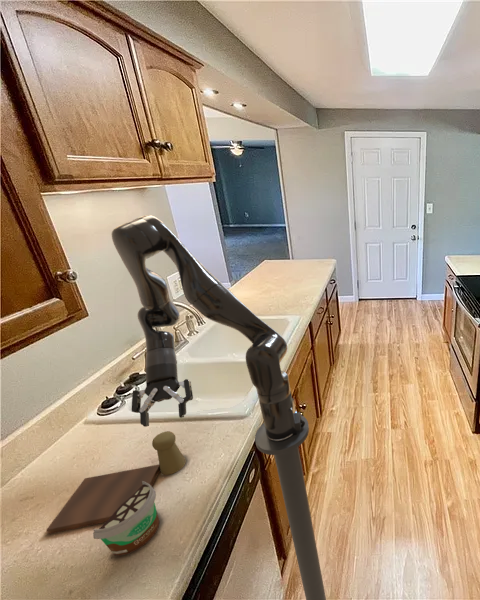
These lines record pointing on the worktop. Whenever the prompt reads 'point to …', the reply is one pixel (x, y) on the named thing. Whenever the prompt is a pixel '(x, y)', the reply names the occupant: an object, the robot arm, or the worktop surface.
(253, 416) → the worktop surface
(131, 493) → the cutting board
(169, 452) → the cork
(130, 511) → the food container
